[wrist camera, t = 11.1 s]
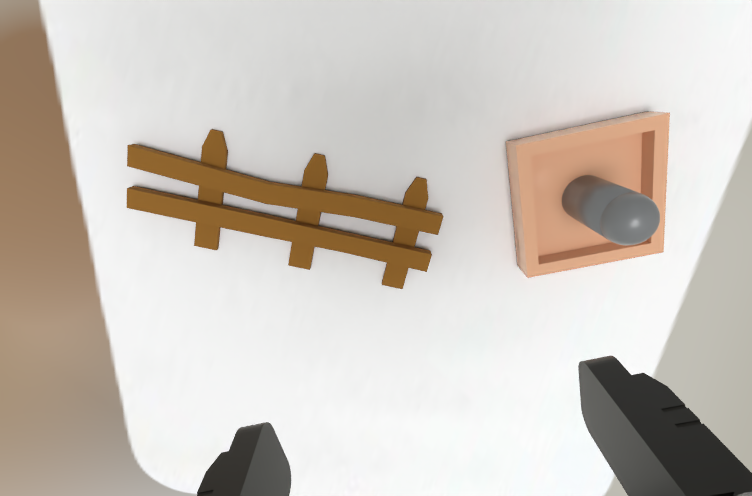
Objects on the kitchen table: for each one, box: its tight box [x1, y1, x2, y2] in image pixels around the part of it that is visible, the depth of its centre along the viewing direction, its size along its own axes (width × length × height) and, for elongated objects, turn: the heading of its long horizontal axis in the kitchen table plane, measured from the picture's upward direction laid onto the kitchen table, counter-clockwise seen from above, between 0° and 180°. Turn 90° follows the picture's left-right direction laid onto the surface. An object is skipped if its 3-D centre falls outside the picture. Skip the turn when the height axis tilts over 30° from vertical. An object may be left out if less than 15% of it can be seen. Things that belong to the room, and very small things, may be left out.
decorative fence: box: [127, 129, 443, 289], centre depth 34 cm, size 25×2×10 cm
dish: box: [506, 111, 670, 278], centre depth 33 cm, size 11×11×2 cm
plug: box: [562, 175, 660, 245], centre depth 29 cm, size 4×4×8 cm
